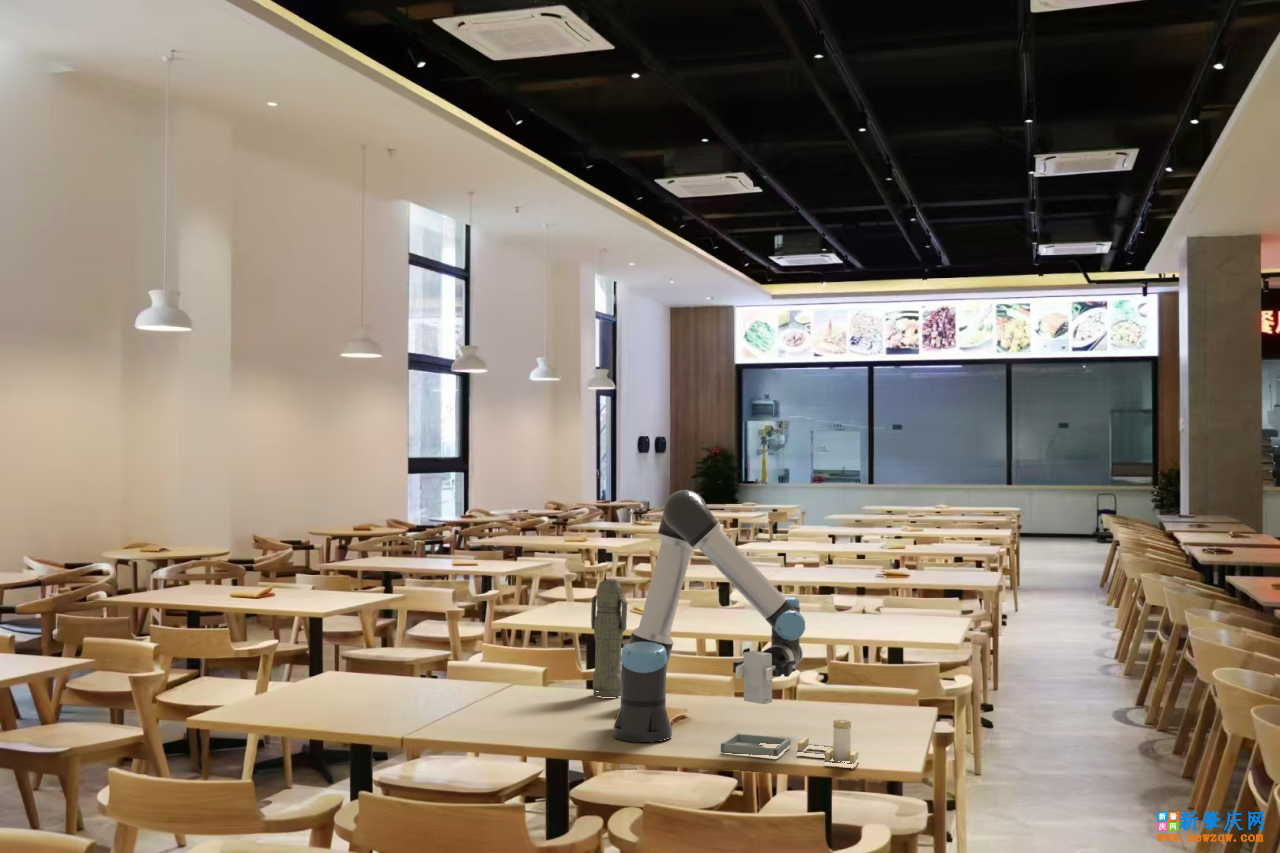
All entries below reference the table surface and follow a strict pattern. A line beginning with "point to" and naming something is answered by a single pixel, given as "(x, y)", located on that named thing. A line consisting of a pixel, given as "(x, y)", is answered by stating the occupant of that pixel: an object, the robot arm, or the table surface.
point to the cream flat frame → (828, 753)
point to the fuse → (841, 740)
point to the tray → (753, 745)
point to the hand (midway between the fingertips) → (752, 674)
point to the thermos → (608, 638)
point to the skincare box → (757, 677)
